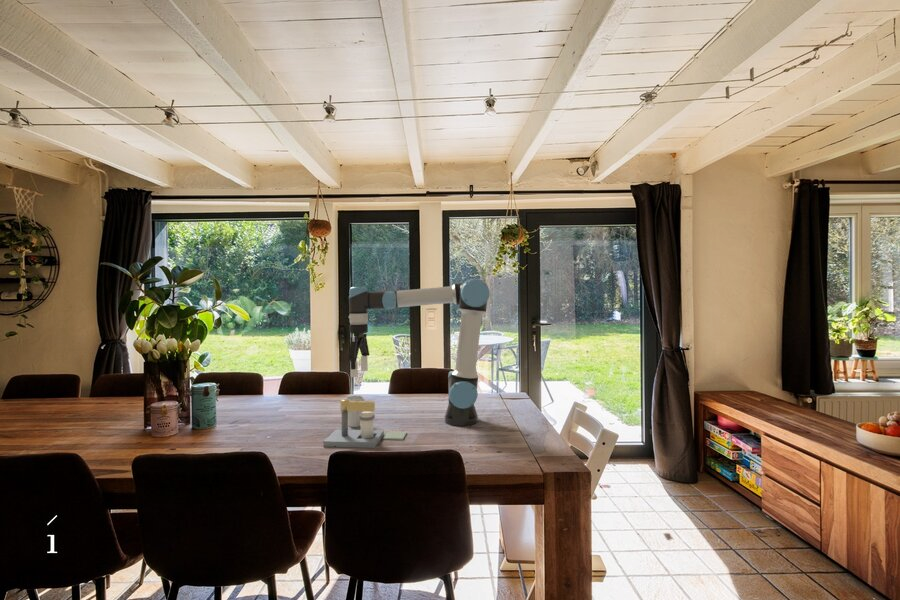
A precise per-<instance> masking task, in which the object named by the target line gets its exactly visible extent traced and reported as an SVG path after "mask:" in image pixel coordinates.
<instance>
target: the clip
mask: <svg viewBox="0 0 900 600" xmlns="http://www.w3.org/2000/svg"><path fill="white" fill-rule="evenodd" d="M339 403H340V404H339V405H340V412H342V411H363V412H367V411H370V412H375V411H376V401H374V400H373V401H372V400H368V401H367V400H364V401H349V400H348V399H346V398H345V399H344V398H343V399H340V402H339Z"/></svg>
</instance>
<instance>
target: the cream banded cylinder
mask: <svg viewBox="0 0 900 600" xmlns="http://www.w3.org/2000/svg"><path fill="white" fill-rule="evenodd" d="M375 417H376V415H375V414H374V411H363V412H362V413H361V415H360V416H359V419H360V420H361V426H360V430H361V439H373V438H374V430H375V429H374V419H375Z"/></svg>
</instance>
